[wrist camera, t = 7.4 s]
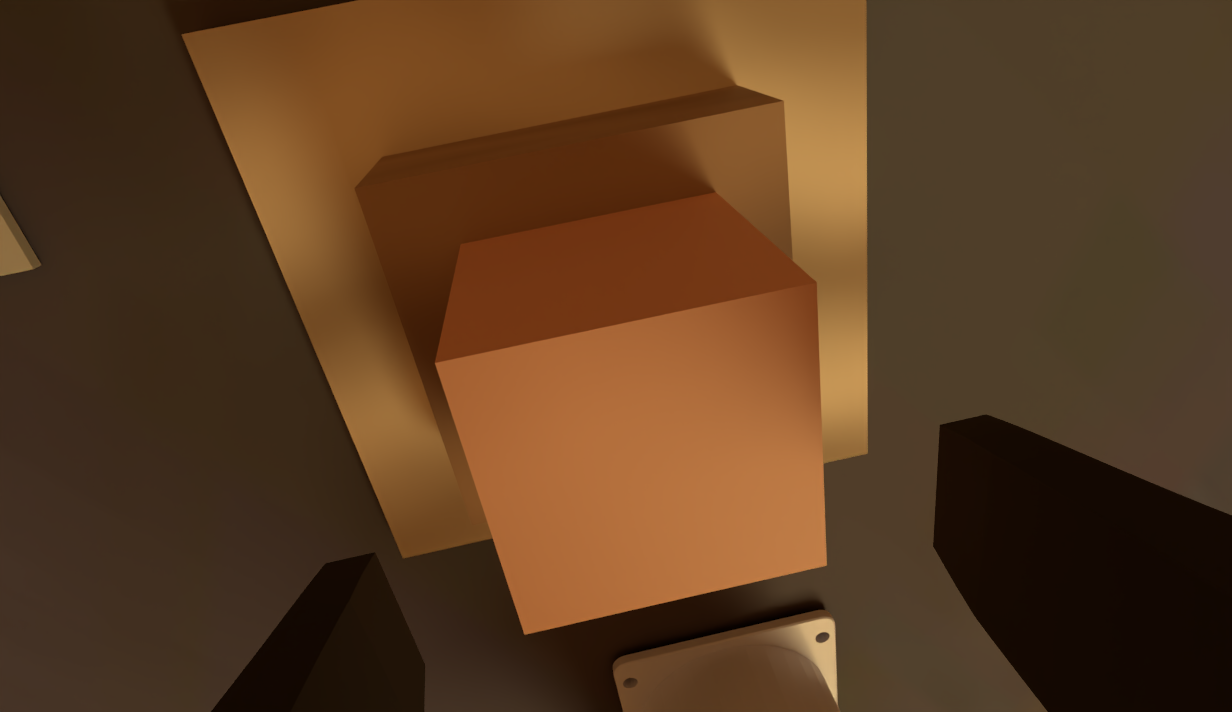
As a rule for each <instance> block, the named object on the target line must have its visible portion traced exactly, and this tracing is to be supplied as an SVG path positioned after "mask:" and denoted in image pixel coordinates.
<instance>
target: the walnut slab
mask: <svg viewBox="0 0 1232 712" xmlns="http://www.w3.org/2000/svg"><path fill="white" fill-rule="evenodd" d="M354 189H355V192H356V195H357V197H358V200H359V203H360V206H361V209H362V212H363V215H364V217H365V220H366V223H367V226H368V229H369V232H370V235H371V237H372V240H373V243H374V246H375V249H376V252H377V255H378V257H379V260H380V263H381V266H382V269H383V272H384V275H385V277H386V280H387V283H388V286H389V289H390V292H391V295H392V297H393V300H394V303H395V306H396V309H397V312H398V315H399V317H400V320H401V323H402V326H403V329H404V332H405V335H406V337H407V340H408V343H409V346H410V349H411V352H412V355H413V357H414V360H415V363H416V366H417V369H418V372H419V375H420V377H421V380H422V383H423V386H424V389H425V392H426V395H427V397H428V400H429V403H430V406H431V409H432V412H433V415H434V417H435V420H436V423H437V426H438V429H439V432H440V435H441V437H442V440H443V443H444V446H445V449H446V452H447V455H448V457H449V460H450V463H451V466H452V469H453V472H454V475H455V477H456V480H457V483H458V486H459V489H460V492H461V495H462V497H463V500H464V503H465V506H466V509H467V512H468V515H469V517H470V520H471V523H472V525H476V524H480V523H485V522H487V519H486V516H485V513H484V510H483V507H482V504H481V501H480V498H479V495H478V492H477V489H476V486H475V483H474V480H473V477H472V474H471V471H470V468H469V465H468V462H467V459H466V456H465V453H464V450H463V447H462V444H461V441H460V438H459V435H458V432H457V429H456V426H455V423H454V420H453V417H452V413H451V410H450V407H449V404H448V401H447V398H446V395H445V392H444V389H443V386H442V383H441V380H440V377H439V374H438V371H437V368H436V365H435V360H436V356H437V351H438V346H439V342H440V337H441V333H442V328H443V323H444V319H445V314H446V310H447V305H448V300H449V296H450V291H451V287H452V282H453V277H454V273H455V268H456V264H457V259H458V254H459V250H460V245H461V244H464V243H469V242H474V241H479V240H484V239H489V238H493V237H498V236H503V235H508V234H513V233H518V232H523V231H528V230H533V229H537V228H542V227H547V226H552V225H557V224H562V223H567V222H572V221H577V220H582V219H586V218H591V217H596V216H601V215H606V214H611V213H616V212H621V211H626V210H630V209H635V208H640V207H645V206H650V205H655V204H660V203H665V202H670V201H675V200H679V199H684V198H689V197H694V196H699V195H704V194H709V193H714V192H716V193H718V194H719V195H720V196H721V197H722V198H723V199H724V200H725V201H726V202H728V203H729V204H730V205H731V206H732V207H733V208H734V209H735V210H737V211H738V212H739V213H740V214H741V215H742V216H743V217H744V218H745V219H747V220H748V221H749V222H750V223H751V224H752V225H753V226H754V227H755V228H757V229H758V230H759V231H760V232H761V233H762V234H763V235H764V236H766V237H767V238H768V239H769V240H770V241H771V242H772V243H773V244H774V245H776V246H777V247H778V248H779V249H780V250H781V251H782V252H783V253H785V254H786V255H787V256H788V257H789V258H790V259H791V260H792V261H793V255H792V237H791V219H790V201H789V183H788V165H787V148H786V130H785V112H784V101H783V100H780V99H777V98H774V97H771V96H768V95H765V94H762V93H759V92H756V91H753V90H750V89H747V88H744V87H741V86H738V85H735V86H730V87H725V88H720V89H715V90H710V91H705V92H700V93H696V94H691V95H686V96H681V97H676V98H671V99H666V100H661V101H656V102H651V103H646V104H641V105H636V106H631V107H626V108H621V109H616V110H611V111H606V112H602V113H597V114H592V115H587V116H582V117H577V118H572V119H567V120H562V121H557V122H552V123H547V124H542V125H537V126H532V127H527V128H522V129H517V130H513V131H508V132H503V133H498V134H493V135H488V136H483V137H478V138H473V139H468V140H463V141H458V142H453V143H448V144H443V145H438V146H433V147H428V148H423V149H419V150H414V151H409V152H404V153H399V154H394V155H389V156H384V157H381V159H380V160H379V161H378V162H377V163H376V164H375V165H374V167H373V168H372V169H371V170H370V171H369V172H368V173H367V174H366V176H365V177H364V178H363V179H362V180H361V181H360V182H359V184H358V185H357V186H356V187H355V188H354Z"/></svg>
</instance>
